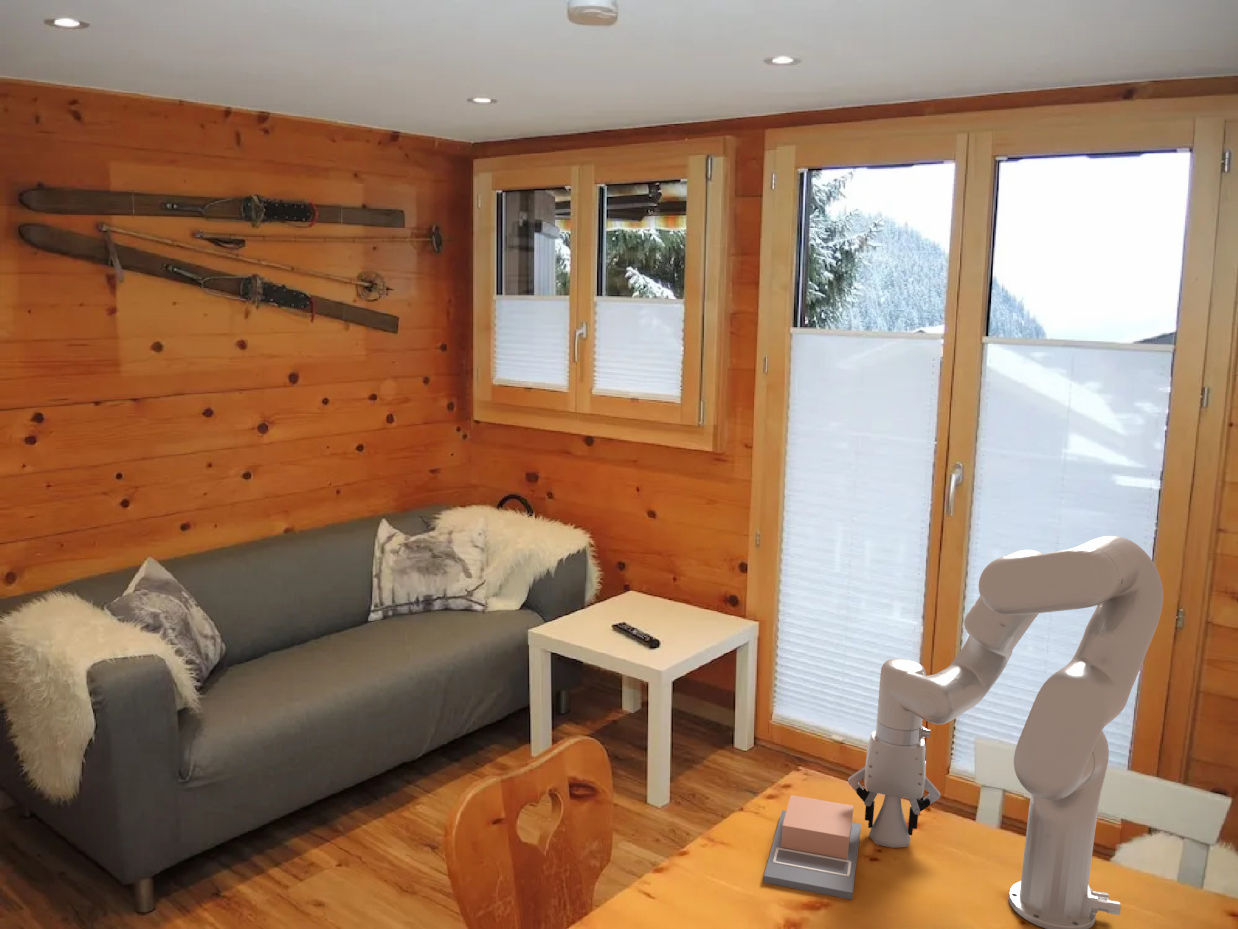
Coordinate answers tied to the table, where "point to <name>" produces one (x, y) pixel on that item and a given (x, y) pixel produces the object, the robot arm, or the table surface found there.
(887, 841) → the flask
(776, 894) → the table surface
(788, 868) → the build base
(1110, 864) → the table surface
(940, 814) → the table surface
